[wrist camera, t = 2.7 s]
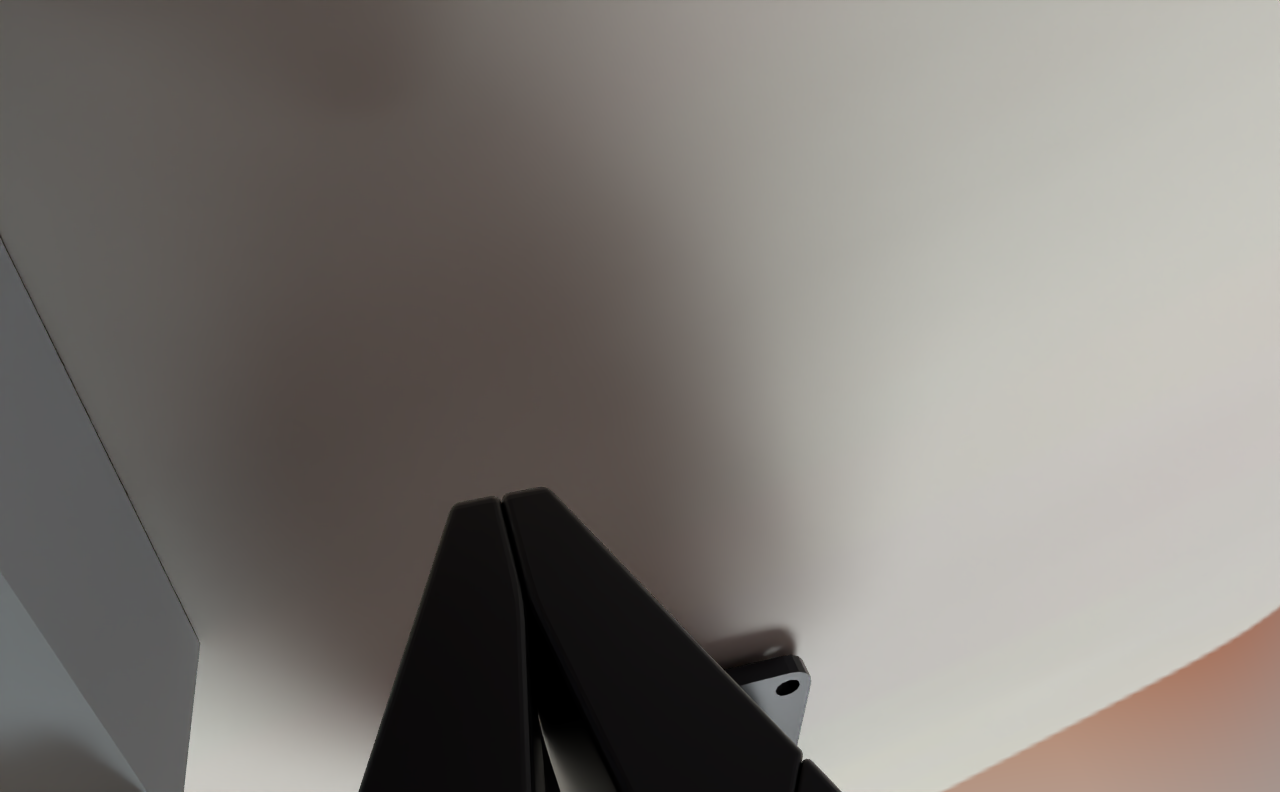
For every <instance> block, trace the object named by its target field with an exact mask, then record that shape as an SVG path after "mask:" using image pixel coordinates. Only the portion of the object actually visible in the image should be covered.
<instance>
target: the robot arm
mask: <svg viewBox="0 0 1280 792" xmlns="http://www.w3.org/2000/svg"><path fill="white" fill-rule="evenodd" d="M810 685H811V677H810V675H809V673H808V671H807V668H806V666H805V664H804V662H803V660H802V659H801V658H800V657H798V656H794V655H788V656H781V657H777V658H773V659H769V660H765V661H761V662H756V663H752V664H748V665H744V666H740V667H736V668H732V669H728V670H723V669H722V667H721V666H720V665H719V664H718V663H717V662H716V661H715V660H714V659H713V658H712V657H711V656H710V655H709V654H708V653H707V652H706V651H705V650H704V649H703V648H702V647H701V646H700V645H699V644H698V643H697V642H696V640H695V639H694V638H693V637H692V636H691V635H690V634H689V633H688V632H687V631H686V630H685V629H684V628H683V627H682V626H681V625H680V624H679V623H678V622H677V621H676V620H675V619H674V618H673V617H672V616H671V615H670V613H669V612H668V611H667V610H666V609H665V608H664V607H663V606H662V605H661V604H660V603H659V602H658V601H657V600H656V599H655V598H654V597H653V596H652V595H651V594H650V593H649V592H648V591H647V590H646V589H645V587H644V586H643V585H642V584H641V583H640V582H639V581H638V580H637V579H636V578H635V577H634V576H633V575H632V574H631V573H630V572H629V571H628V570H627V569H626V568H625V567H624V566H623V565H622V564H621V563H620V562H619V560H618V559H617V558H616V557H615V556H614V555H613V554H612V553H611V552H610V551H609V550H608V549H607V548H606V547H605V546H604V545H603V544H602V543H601V542H600V541H599V540H598V539H597V538H596V537H595V536H594V535H593V533H592V532H591V531H590V530H589V529H588V528H587V527H586V526H585V525H584V524H583V523H582V522H581V521H580V520H579V519H578V518H577V517H576V516H575V515H574V514H573V513H572V512H571V511H570V510H569V509H568V508H567V506H566V505H565V504H564V503H563V502H562V501H561V500H560V499H559V498H558V497H557V496H556V495H555V494H554V493H553V492H552V491H551V490H549V489H548V488H545V487H538V488H533V489H528V490H522V491H517V492H512V493H508V494H506V495H505V496H504V497H503V499H502V504H501V501H500V500H499V499H498V498H497V497H495V496H490V497H485V498H480V499H475V500H469V501H464V502H459V503H456V504H455V505H454V506H453V507H452V509H451V510H450V513H449V516H448V519H447V522H446V525H445V528H444V531H443V534H442V537H441V540H440V543H439V546H438V549H437V552H436V556H435V559H434V562H433V565H432V568H431V571H430V574H429V577H428V580H427V583H426V586H425V589H424V592H423V595H422V598H421V602H420V605H419V608H418V611H417V614H416V617H415V620H414V623H413V626H412V629H411V632H410V635H409V638H408V641H407V645H406V648H405V651H404V654H403V657H402V660H401V663H400V666H399V669H398V672H397V675H396V678H395V681H394V684H393V687H392V691H391V694H390V697H389V700H388V703H387V706H386V709H385V712H384V715H383V718H382V721H381V724H380V727H379V730H378V734H377V737H376V740H375V743H374V746H373V749H372V752H371V755H370V758H369V761H368V764H367V767H366V770H365V773H364V776H363V780H362V783H361V786H360V789H359V792H841V791H840V790H839V788H838V787H837V786H836V785H835V784H834V783H833V782H832V781H831V780H830V779H829V778H828V777H827V776H826V775H825V774H824V773H823V772H822V771H821V770H820V769H819V768H818V767H817V766H816V764H815V763H814V762H813V761H812V760H810V759H805V760H803V761H802V757H803V753H802V751H801V750H800V748H799V747H798V746H797V743H798V739H799V734H800V730H801V725H802V721H803V716H804V712H805V707H806V703H807V698H808V694H809V689H810Z"/></svg>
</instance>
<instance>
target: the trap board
mask: <svg viewBox="0 0 1280 792" xmlns="http://www.w3.org/2000/svg"><path fill="white" fill-rule="evenodd" d="M199 648H200V643H199V641H198V639H197V637H196V635H195V633H194V631H193V629H192V627H191V625H190V623H189V620H188V618H187V616H186V614H185V612H184V610H183V608H182V606H181V604H180V602H179V600H178V598H177V596H176V594H175V592H174V590H173V588H172V586H171V584H170V582H169V580H168V578H167V576H166V574H165V572H164V570H163V568H162V566H161V564H160V562H159V560H158V558H157V555H156V553H155V551H154V549H153V547H152V545H151V543H150V541H149V539H148V537H147V535H146V533H145V531H144V529H143V527H142V525H141V523H140V521H139V519H138V517H137V515H136V513H135V511H134V509H133V507H132V505H131V503H130V501H129V499H128V497H127V495H126V492H125V490H124V488H123V486H122V484H121V482H120V480H119V478H118V476H117V474H116V472H115V470H114V468H113V466H112V464H111V462H110V460H109V458H108V456H107V454H106V452H105V450H104V448H103V446H102V444H101V442H100V440H99V438H98V436H97V434H96V432H95V429H94V427H93V425H92V423H91V421H90V419H89V417H88V415H87V413H86V411H85V409H84V407H83V405H82V403H81V401H80V399H79V397H78V395H77V393H76V391H75V389H74V387H73V385H72V383H71V381H70V379H69V377H68V375H67V373H66V371H65V369H64V366H63V364H62V362H61V360H60V358H59V356H58V354H57V352H56V350H55V348H54V346H53V344H52V342H51V340H50V338H49V336H48V334H47V332H46V330H45V328H44V326H43V324H42V322H41V320H40V318H39V316H38V314H37V312H36V310H35V308H34V306H33V304H32V301H31V299H30V297H29V295H28V293H27V291H26V289H25V287H24V285H23V283H22V281H21V279H20V277H19V275H18V273H17V271H16V269H15V267H14V265H13V263H12V261H11V259H10V257H9V255H8V253H7V251H6V249H5V247H4V245H3V243H2V241H1V238H0V792H184V785H185V775H186V766H187V757H188V748H189V739H190V730H191V721H192V712H193V703H194V694H195V685H196V676H197V667H198V658H199Z"/></svg>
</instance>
